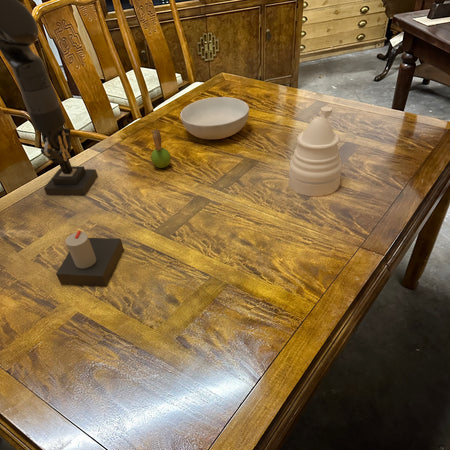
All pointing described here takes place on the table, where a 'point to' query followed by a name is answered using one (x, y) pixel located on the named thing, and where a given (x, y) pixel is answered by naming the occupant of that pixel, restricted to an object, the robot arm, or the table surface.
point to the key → (68, 174)
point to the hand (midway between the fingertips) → (68, 172)
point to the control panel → (97, 273)
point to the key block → (72, 182)
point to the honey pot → (316, 159)
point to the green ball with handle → (159, 152)
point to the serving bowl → (215, 117)
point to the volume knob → (81, 250)
